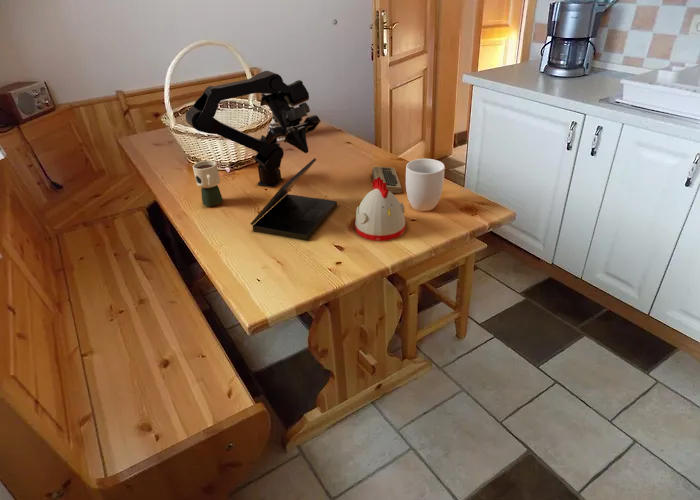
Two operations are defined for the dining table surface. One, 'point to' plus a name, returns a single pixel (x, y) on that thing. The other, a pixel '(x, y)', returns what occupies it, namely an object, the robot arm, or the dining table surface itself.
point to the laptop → (295, 217)
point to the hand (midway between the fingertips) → (307, 152)
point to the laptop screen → (283, 191)
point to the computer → (388, 178)
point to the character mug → (208, 182)
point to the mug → (424, 183)
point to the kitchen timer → (380, 214)
